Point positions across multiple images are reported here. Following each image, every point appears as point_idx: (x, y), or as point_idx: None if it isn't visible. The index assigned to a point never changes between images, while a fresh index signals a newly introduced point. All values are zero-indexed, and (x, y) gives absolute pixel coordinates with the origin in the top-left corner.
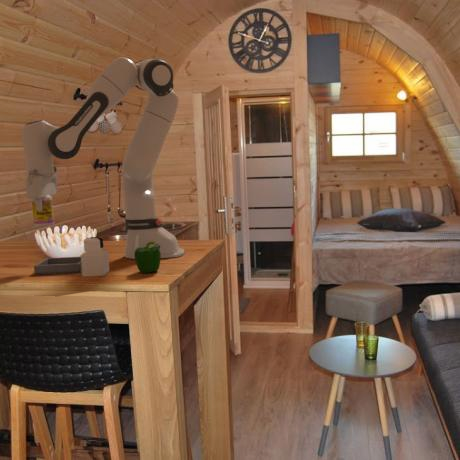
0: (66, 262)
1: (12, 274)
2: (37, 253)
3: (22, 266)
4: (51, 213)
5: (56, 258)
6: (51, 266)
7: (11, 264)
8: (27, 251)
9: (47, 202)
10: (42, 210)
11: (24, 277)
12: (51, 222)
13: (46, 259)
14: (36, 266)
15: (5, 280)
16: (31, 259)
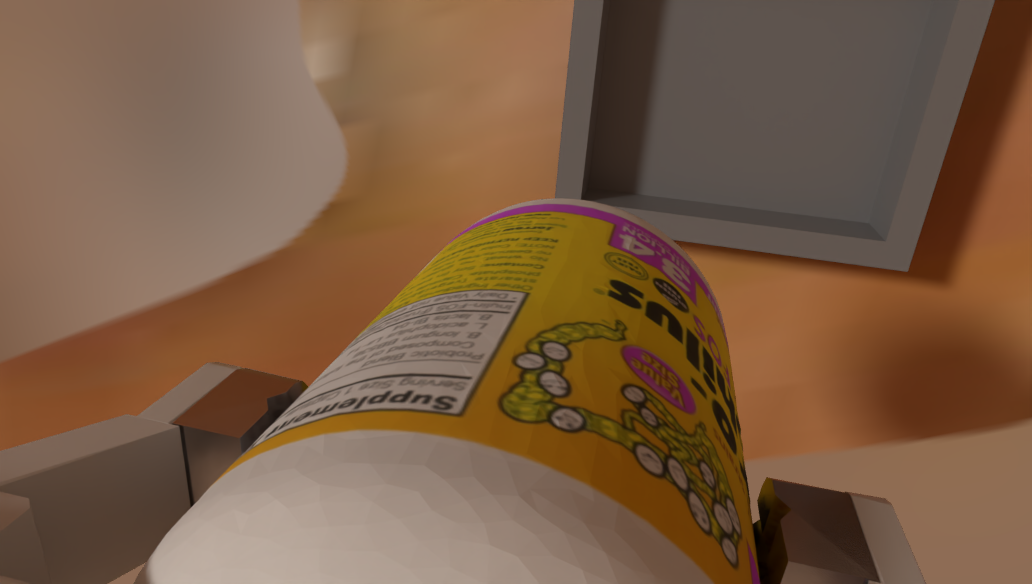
0: (604, 30)
1: (781, 410)
2: (75, 359)
3: None
4: (616, 279)
5: (588, 129)
6: (957, 104)
7: None
8: (14, 429)
9: (693, 506)
10: (838, 491)
11: (954, 308)
12: (653, 232)
13: None
14: (913, 247)
15: (999, 424)
16: (270, 365)
